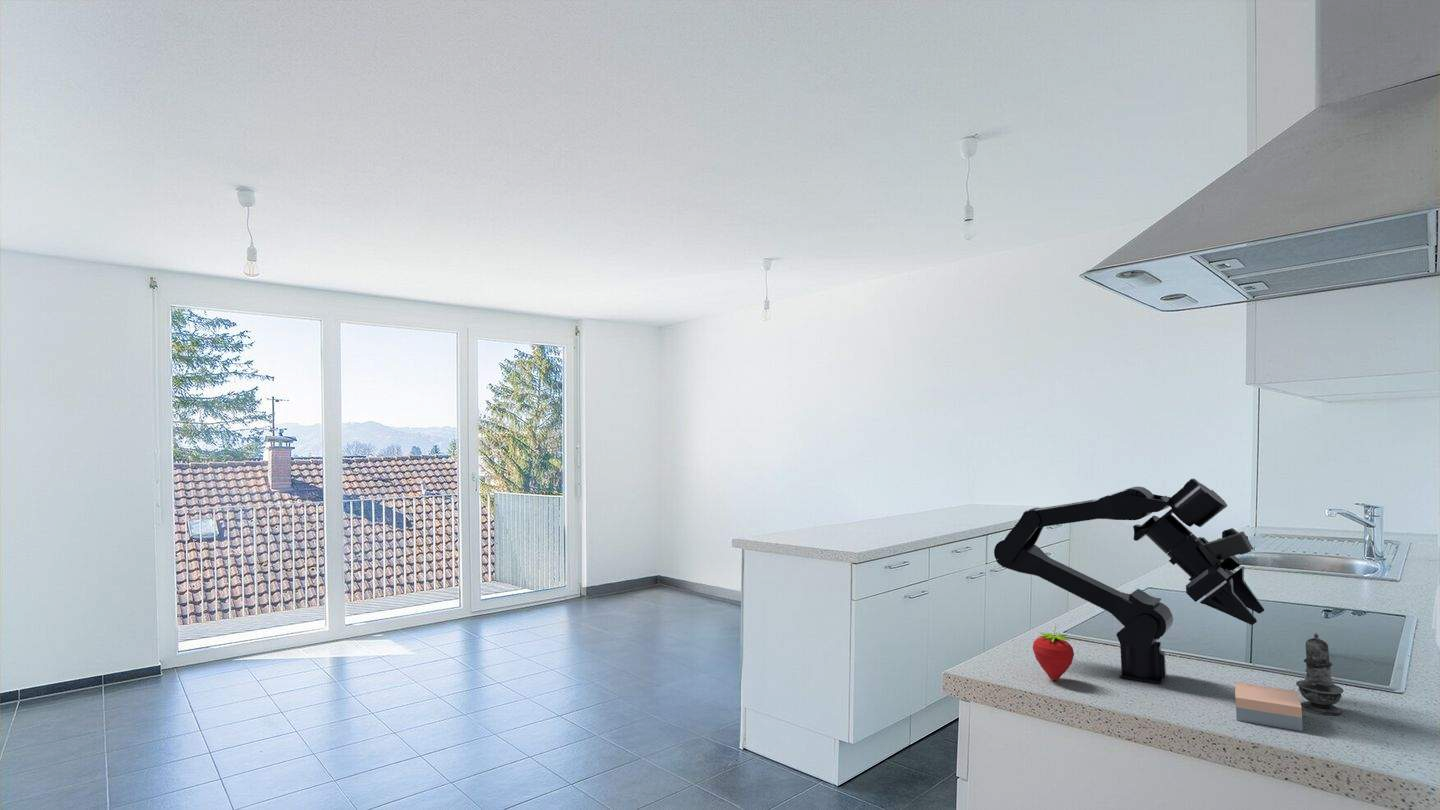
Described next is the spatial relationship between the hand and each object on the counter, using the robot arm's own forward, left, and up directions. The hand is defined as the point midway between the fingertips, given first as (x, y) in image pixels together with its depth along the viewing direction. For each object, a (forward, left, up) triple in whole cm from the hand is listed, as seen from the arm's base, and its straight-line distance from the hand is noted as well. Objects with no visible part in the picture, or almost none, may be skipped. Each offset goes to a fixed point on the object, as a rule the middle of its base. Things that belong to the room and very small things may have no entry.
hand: (1258, 617), depth 120 cm
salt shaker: (+7, -1, -14) cm, 15 cm away
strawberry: (-31, -8, -14) cm, 34 cm away
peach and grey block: (0, -9, -13) cm, 16 cm away
